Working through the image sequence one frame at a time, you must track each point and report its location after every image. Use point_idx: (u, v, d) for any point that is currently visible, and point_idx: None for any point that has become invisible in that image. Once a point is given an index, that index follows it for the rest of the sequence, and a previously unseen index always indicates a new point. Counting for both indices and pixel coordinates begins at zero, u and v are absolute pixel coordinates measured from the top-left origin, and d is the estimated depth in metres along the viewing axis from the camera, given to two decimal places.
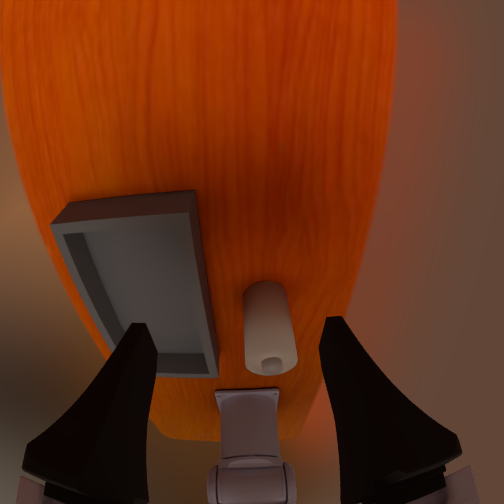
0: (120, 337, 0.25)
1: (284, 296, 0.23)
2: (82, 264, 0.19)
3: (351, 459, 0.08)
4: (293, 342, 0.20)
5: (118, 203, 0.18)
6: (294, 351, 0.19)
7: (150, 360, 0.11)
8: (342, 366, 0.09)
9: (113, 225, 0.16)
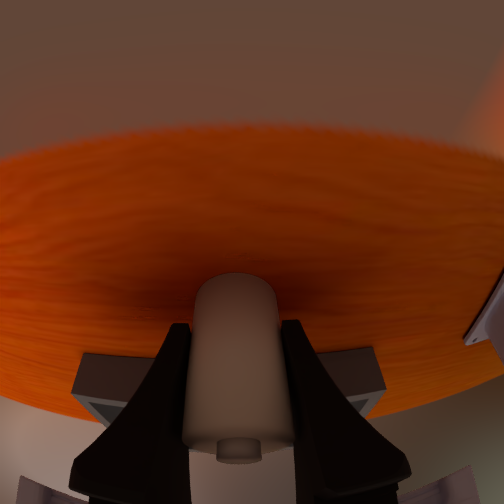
0: None
1: (207, 297, 0.11)
2: None
3: (301, 467, 0.08)
4: (204, 398, 0.08)
5: None
6: (200, 423, 0.07)
7: None
8: (292, 371, 0.09)
9: (108, 425, 0.16)
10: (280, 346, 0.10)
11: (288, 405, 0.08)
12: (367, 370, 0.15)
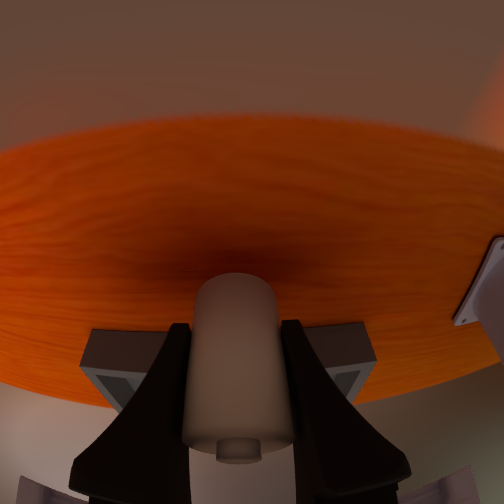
0: None
1: (207, 297, 0.11)
2: None
3: (301, 468, 0.08)
4: (204, 398, 0.08)
5: None
6: (200, 423, 0.07)
7: None
8: (292, 372, 0.09)
9: (113, 401, 0.18)
10: (280, 346, 0.10)
11: (288, 405, 0.08)
12: (358, 343, 0.16)
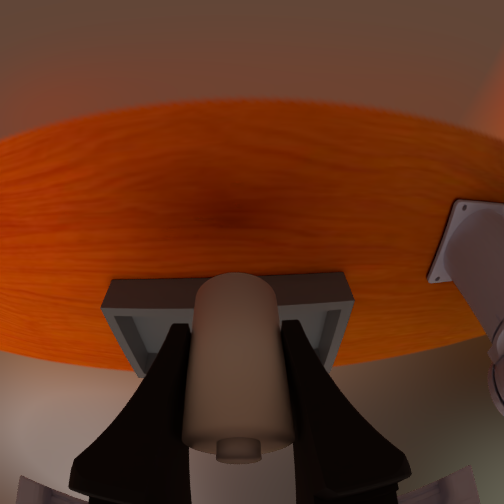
0: None
1: (207, 297, 0.11)
2: None
3: (300, 468, 0.08)
4: (204, 398, 0.08)
5: None
6: (200, 423, 0.07)
7: None
8: (292, 372, 0.09)
9: (126, 348, 0.22)
10: (280, 346, 0.10)
11: (288, 405, 0.08)
12: (338, 286, 0.20)
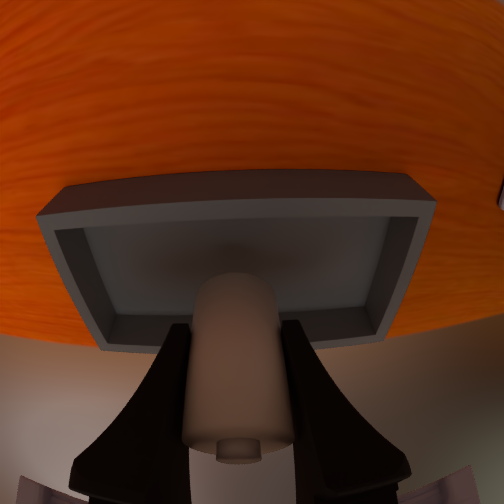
0: (310, 323, 0.17)
1: (207, 297, 0.11)
2: (158, 334, 0.17)
3: (301, 467, 0.08)
4: (204, 398, 0.08)
5: None
6: (200, 423, 0.07)
7: None
8: (292, 372, 0.09)
9: (76, 295, 0.13)
10: (280, 346, 0.10)
11: (288, 405, 0.08)
12: (408, 186, 0.12)
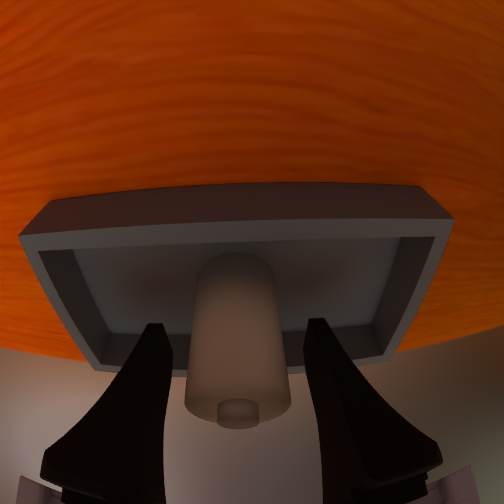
0: None
1: (209, 274, 0.13)
2: None
3: (331, 463, 0.08)
4: (207, 360, 0.09)
5: None
6: (203, 382, 0.08)
7: (167, 361, 0.11)
8: (322, 368, 0.09)
9: (66, 317, 0.12)
10: (277, 317, 0.11)
11: (284, 369, 0.09)
12: (423, 201, 0.11)
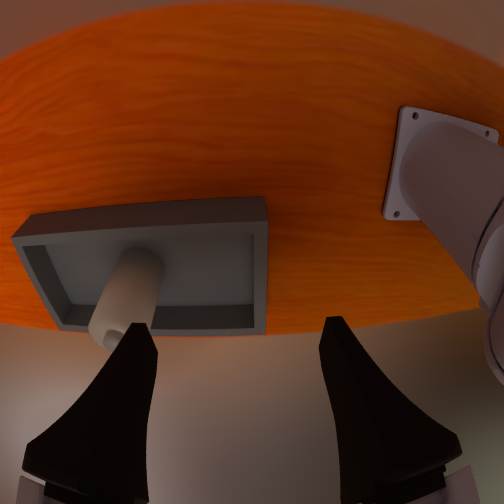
0: (203, 315, 0.22)
1: (118, 261, 0.19)
2: None
3: (351, 459, 0.08)
4: (99, 306, 0.15)
5: None
6: (93, 316, 0.14)
7: (150, 360, 0.11)
8: (342, 366, 0.09)
9: (39, 288, 0.18)
10: (150, 288, 0.18)
11: (141, 316, 0.16)
12: (252, 208, 0.17)
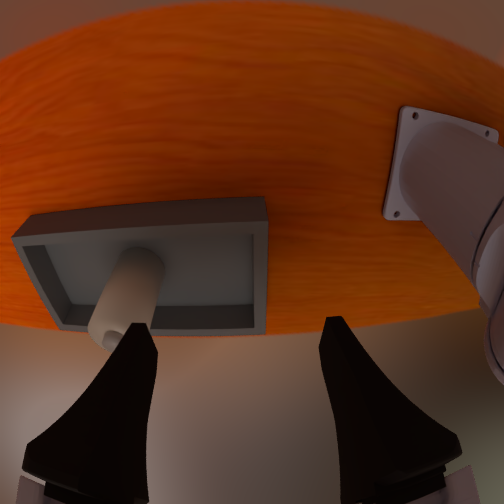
0: (203, 315, 0.22)
1: (118, 261, 0.19)
2: None
3: (351, 459, 0.08)
4: (98, 306, 0.15)
5: None
6: (93, 317, 0.14)
7: (150, 360, 0.11)
8: (342, 366, 0.09)
9: (39, 288, 0.18)
10: (149, 288, 0.18)
11: (141, 317, 0.16)
12: (252, 208, 0.17)
